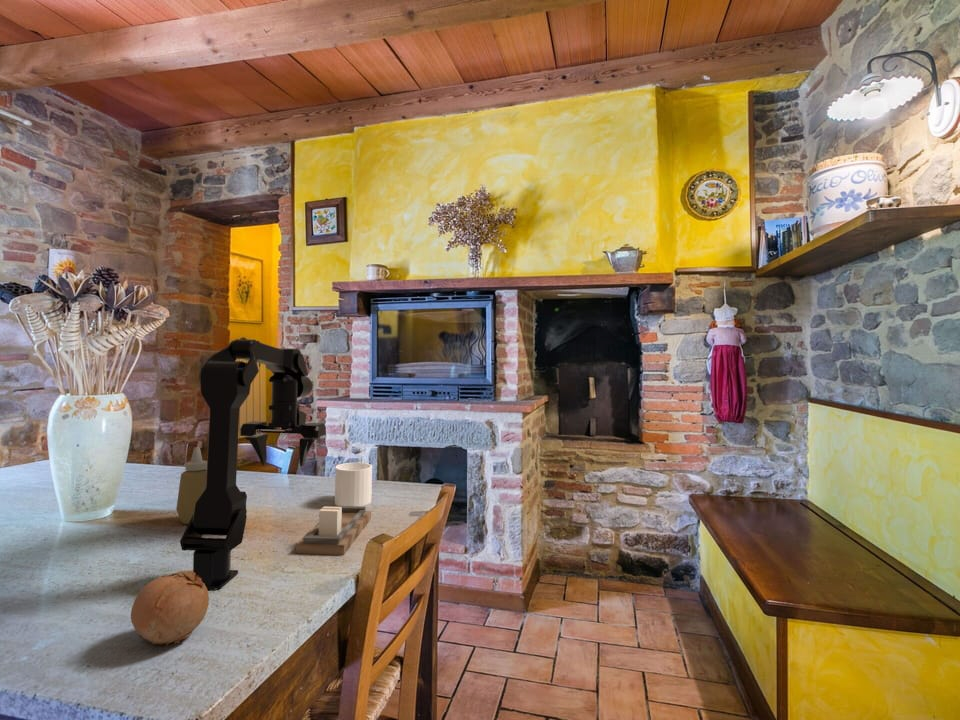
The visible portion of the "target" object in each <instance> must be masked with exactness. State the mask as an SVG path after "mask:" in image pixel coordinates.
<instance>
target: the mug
mask: <svg viewBox="0 0 960 720" xmlns="http://www.w3.org/2000/svg"><path fill="white" fill-rule="evenodd" d="M334 469H335V470H334V471H335V472H334V473H335V475H334V506H335V507H336V506H357V507H367V506H369V505H370V504H371V503H372V493H373V492H372V491H373V490H372V489H373V486H372V485H373V483H372V482H373V465H372V464H370V463H367V462H346V463H340V464H338V465H336V466H335V467H334Z"/></svg>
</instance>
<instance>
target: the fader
mask: <svg viewBox="0 0 960 720" xmlns="http://www.w3.org/2000/svg"><path fill="white" fill-rule="evenodd" d="M341 521H342V507H336V506H323V507H321V509H319V510H318V523H319V536H338V534H339V533H340V532H341Z"/></svg>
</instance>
